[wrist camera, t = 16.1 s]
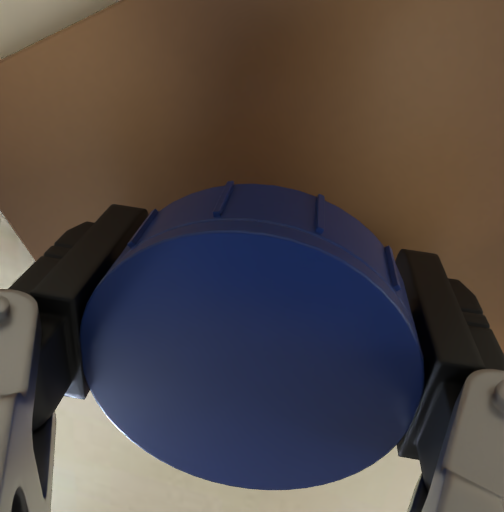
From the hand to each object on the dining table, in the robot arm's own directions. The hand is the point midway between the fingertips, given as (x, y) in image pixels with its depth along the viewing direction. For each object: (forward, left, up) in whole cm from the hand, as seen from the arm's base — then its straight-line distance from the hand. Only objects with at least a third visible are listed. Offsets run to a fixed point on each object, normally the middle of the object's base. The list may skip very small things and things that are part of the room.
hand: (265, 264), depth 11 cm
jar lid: (0, 0, +3) cm, 3 cm away
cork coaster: (0, 0, -1) cm, 1 cm away
